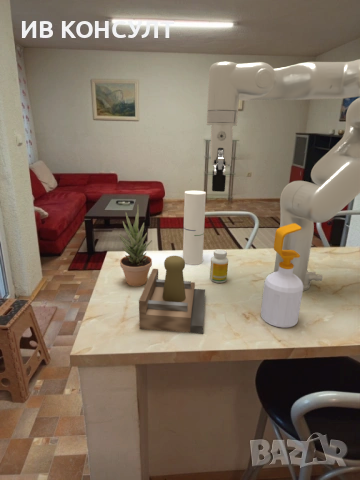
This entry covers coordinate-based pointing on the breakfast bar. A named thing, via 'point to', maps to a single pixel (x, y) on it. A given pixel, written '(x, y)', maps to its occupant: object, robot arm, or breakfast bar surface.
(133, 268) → the potted plant
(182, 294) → the olive rounded upright piece
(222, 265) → the supplement bottle
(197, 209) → the cylindrical container
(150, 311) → the loading dock
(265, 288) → the soap bottle
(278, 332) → the breakfast bar surface
